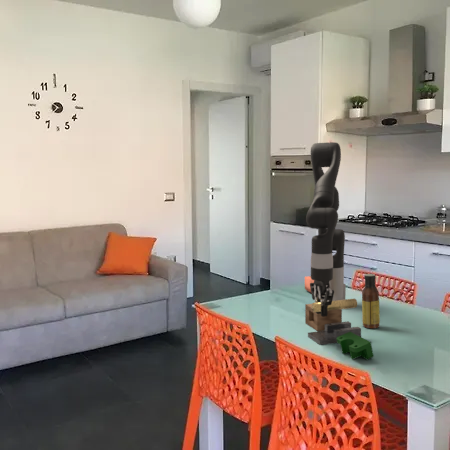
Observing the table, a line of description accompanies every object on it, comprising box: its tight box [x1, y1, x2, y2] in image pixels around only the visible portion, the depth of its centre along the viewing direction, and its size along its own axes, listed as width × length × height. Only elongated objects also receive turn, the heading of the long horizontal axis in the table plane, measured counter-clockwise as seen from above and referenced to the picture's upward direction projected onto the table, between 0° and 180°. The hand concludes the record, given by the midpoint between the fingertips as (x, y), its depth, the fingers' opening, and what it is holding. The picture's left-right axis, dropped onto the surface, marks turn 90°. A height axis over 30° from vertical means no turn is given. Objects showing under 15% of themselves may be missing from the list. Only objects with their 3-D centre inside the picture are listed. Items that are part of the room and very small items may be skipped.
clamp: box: [336, 332, 374, 360], centre depth 166 cm, size 12×6×9 cm, turn 14°
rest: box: [307, 321, 362, 346], centre depth 183 cm, size 16×9×4 cm, turn 107°
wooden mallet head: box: [304, 303, 343, 332], centre depth 196 cm, size 10×10×8 cm
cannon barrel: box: [311, 298, 358, 312], centre depth 181 cm, size 16×3×3 cm, turn 107°
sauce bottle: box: [361, 273, 381, 330], centre depth 194 cm, size 7×6×20 cm
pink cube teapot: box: [304, 275, 314, 293], centre depth 249 cm, size 8×12×8 cm, turn 13°
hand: (321, 314), depth 180 cm, fingers closed on cannon barrel, 3 cm apart
